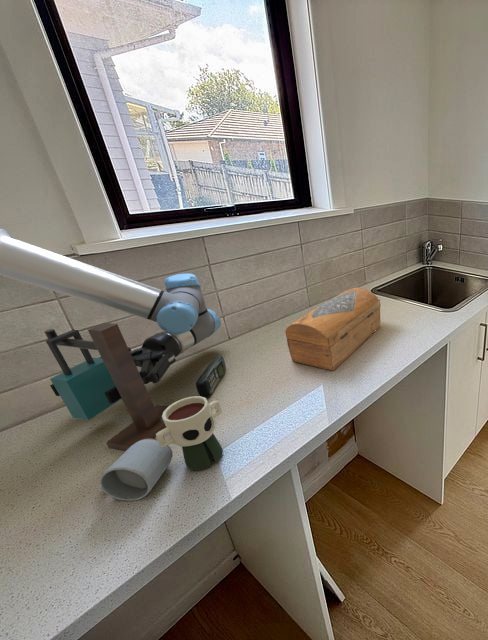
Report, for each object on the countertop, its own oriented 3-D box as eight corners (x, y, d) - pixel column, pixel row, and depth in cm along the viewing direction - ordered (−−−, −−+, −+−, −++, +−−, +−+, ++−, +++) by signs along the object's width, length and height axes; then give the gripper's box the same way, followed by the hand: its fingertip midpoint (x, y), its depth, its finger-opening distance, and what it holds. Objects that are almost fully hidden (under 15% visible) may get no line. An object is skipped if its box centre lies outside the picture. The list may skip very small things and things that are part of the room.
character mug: (186, 488, 61) (161, 434, 55) (166, 471, 64) (141, 419, 58) (242, 448, 69) (226, 398, 63) (222, 435, 72) (205, 386, 67)
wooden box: (343, 319, 124) (339, 284, 118) (383, 326, 119) (380, 290, 113) (286, 360, 99) (277, 318, 93) (333, 372, 93) (327, 328, 87)
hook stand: (67, 441, 71) (0, 335, 59) (122, 404, 81) (74, 308, 70) (137, 452, 68) (80, 344, 57) (185, 412, 78) (145, 314, 67)
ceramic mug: (181, 461, 66) (167, 431, 63) (156, 498, 59) (139, 467, 55) (122, 467, 65) (105, 437, 61) (90, 506, 57) (68, 475, 54)
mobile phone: (205, 383, 81) (225, 350, 94) (192, 384, 80) (214, 351, 93) (211, 399, 83) (230, 365, 96) (198, 400, 83) (219, 366, 96)
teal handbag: (72, 417, 70) (29, 344, 62) (111, 394, 77) (76, 325, 69) (88, 420, 69) (46, 346, 62) (126, 396, 76) (92, 327, 69)
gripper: (214, 360, 88) (138, 415, 69) (133, 351, 92) (41, 401, 73) (206, 335, 85) (124, 386, 66) (123, 327, 88) (23, 373, 70)
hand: (80, 394), depth 69 cm, fingers open, 13 cm apart
